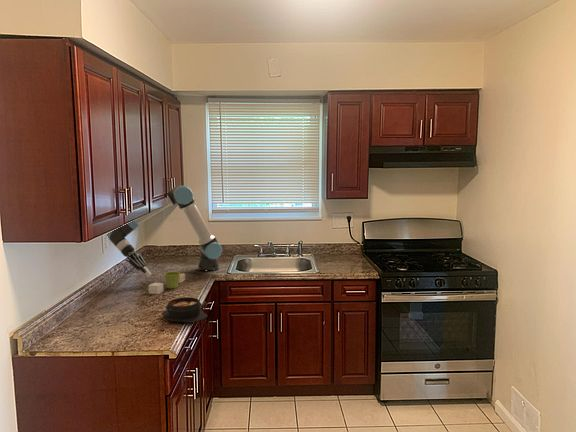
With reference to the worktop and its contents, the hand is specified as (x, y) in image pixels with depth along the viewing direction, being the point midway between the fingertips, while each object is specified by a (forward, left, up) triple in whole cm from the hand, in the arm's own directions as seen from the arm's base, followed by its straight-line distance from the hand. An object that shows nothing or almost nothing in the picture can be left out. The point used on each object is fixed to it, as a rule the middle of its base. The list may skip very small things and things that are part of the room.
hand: (149, 275), depth 273 cm
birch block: (-8, +16, -6) cm, 19 cm away
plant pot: (+5, +15, -6) cm, 17 cm away
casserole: (+61, +33, -7) cm, 70 cm away
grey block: (+15, +8, -6) cm, 18 cm away
